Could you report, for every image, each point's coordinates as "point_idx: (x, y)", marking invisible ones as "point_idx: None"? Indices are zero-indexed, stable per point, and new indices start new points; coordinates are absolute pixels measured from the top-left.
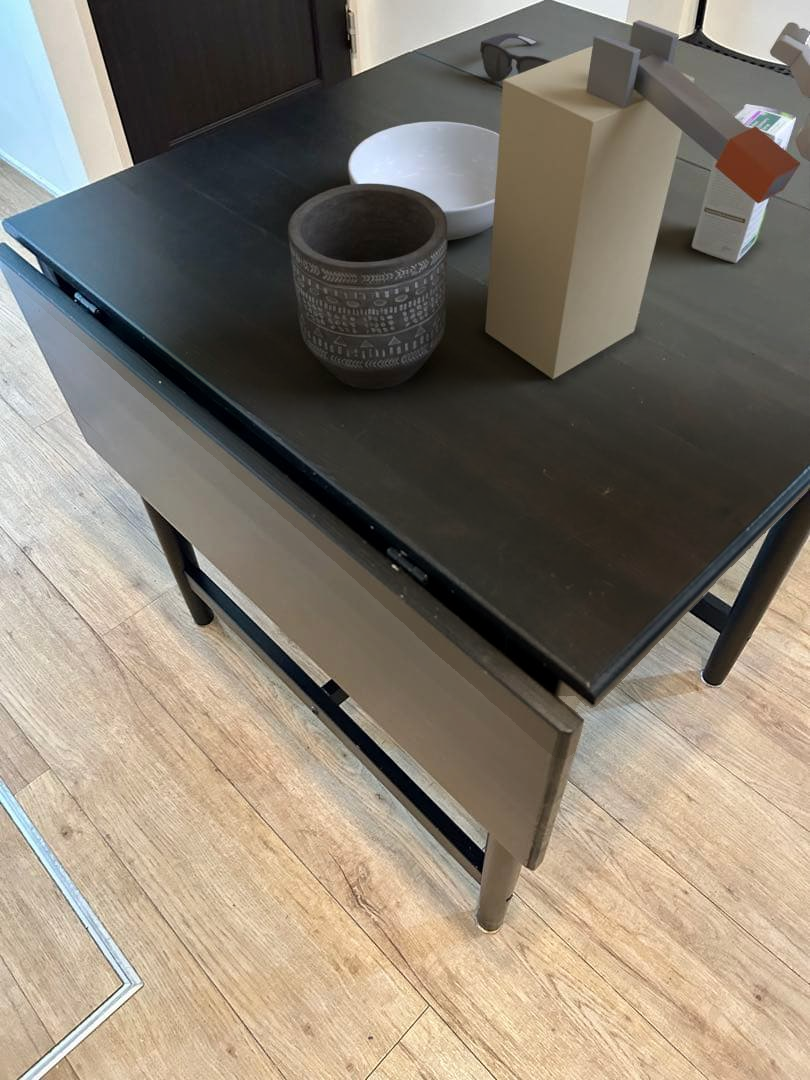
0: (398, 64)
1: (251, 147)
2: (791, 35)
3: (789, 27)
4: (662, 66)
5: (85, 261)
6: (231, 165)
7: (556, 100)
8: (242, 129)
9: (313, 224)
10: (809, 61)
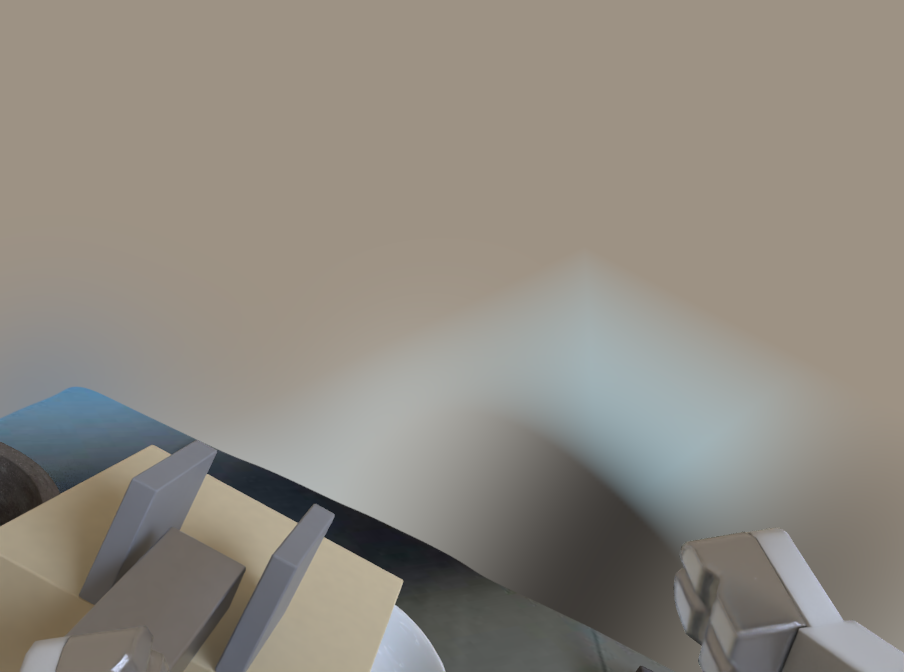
0: (558, 616)
1: None
2: (62, 660)
3: (108, 633)
4: (193, 585)
5: (29, 423)
6: (271, 508)
7: (83, 495)
8: (341, 510)
9: None
10: None
